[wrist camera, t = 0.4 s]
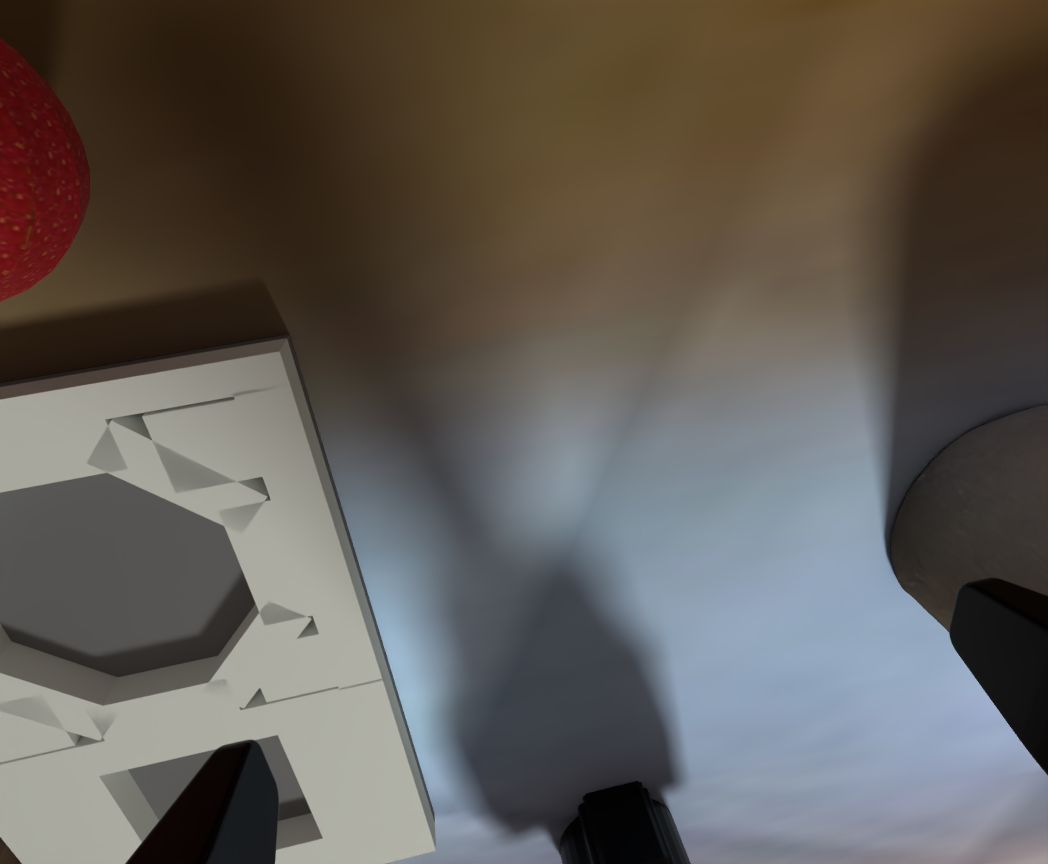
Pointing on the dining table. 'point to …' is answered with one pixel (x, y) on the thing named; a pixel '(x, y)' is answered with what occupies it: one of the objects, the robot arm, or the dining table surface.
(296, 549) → the socket board
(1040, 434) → the pillar candle
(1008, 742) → the dining table surface
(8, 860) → the walnut peg
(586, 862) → the robot arm
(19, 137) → the strawberry
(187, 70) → the dining table surface
